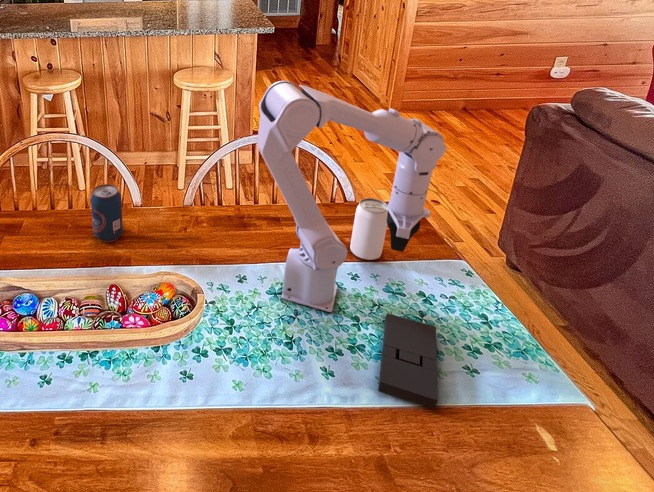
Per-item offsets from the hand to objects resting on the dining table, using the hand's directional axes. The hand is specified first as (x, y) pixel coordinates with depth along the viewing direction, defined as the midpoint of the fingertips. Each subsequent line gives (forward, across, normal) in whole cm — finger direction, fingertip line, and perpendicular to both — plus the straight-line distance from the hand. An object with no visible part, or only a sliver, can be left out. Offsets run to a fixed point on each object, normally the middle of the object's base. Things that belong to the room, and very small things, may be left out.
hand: (397, 248), depth 97 cm
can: (+9, +10, +5) cm, 15 cm away
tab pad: (+9, -14, -4) cm, 17 cm away
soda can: (+9, -8, +60) cm, 61 cm away
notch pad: (+9, -22, -4) cm, 24 cm away
